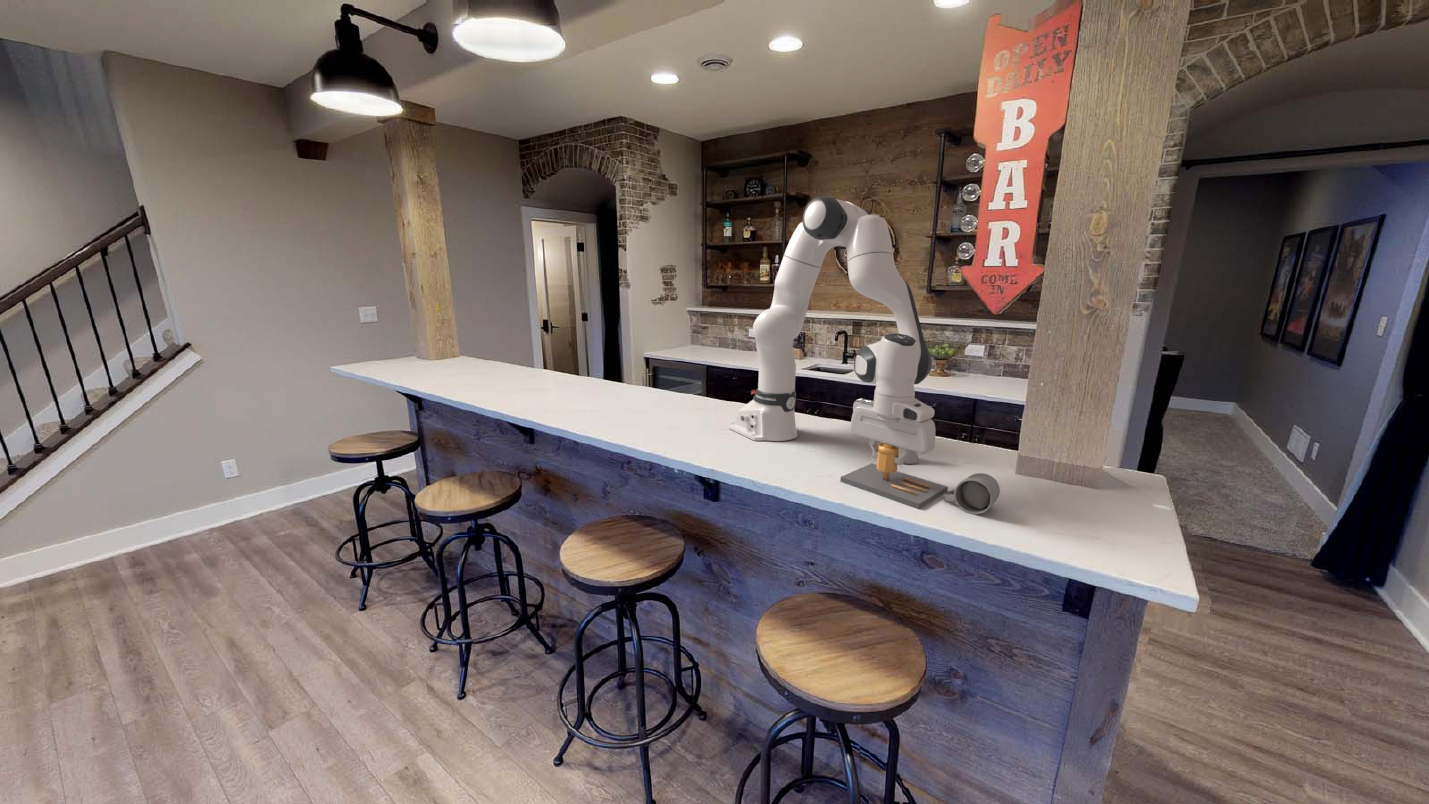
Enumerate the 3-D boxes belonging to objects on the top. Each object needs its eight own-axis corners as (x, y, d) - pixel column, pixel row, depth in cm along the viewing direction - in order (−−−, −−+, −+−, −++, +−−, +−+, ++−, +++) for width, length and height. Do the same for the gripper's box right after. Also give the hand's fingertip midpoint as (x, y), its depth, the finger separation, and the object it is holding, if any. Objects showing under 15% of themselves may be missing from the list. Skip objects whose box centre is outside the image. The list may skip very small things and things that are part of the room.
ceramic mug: (999, 506, 117) (1004, 473, 115) (989, 519, 111) (994, 484, 109) (949, 493, 124) (953, 462, 122) (937, 505, 118) (941, 472, 116)
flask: (915, 456, 147) (919, 421, 145) (922, 465, 140) (926, 429, 138) (888, 455, 148) (891, 420, 146) (894, 464, 141) (898, 428, 139)
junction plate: (840, 481, 129) (841, 463, 128) (871, 467, 138) (872, 450, 137) (918, 508, 115) (921, 488, 114) (947, 491, 124) (949, 472, 123)
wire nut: (872, 468, 127) (875, 442, 126) (882, 464, 130) (885, 438, 129) (890, 474, 124) (893, 447, 123) (900, 469, 127) (903, 443, 126)
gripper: (847, 398, 129) (842, 452, 132) (928, 416, 114) (921, 476, 118) (861, 394, 133) (857, 447, 136) (941, 411, 118) (934, 469, 122)
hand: (887, 461), depth 127 cm, fingers closed on wire nut, 4 cm apart
